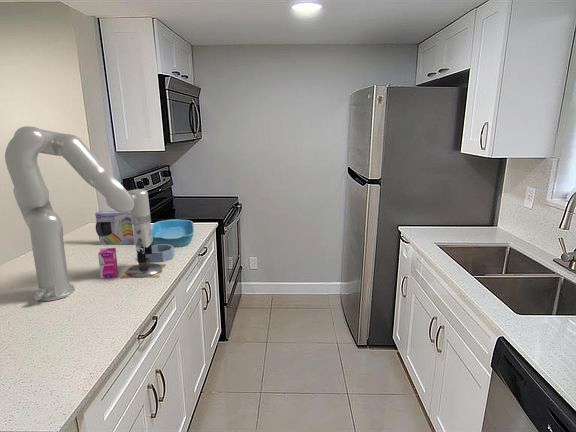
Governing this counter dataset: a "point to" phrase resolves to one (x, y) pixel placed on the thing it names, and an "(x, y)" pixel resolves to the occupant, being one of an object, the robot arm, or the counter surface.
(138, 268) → the lid
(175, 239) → the casserole dish
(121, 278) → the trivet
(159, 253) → the bowl
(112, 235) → the cake pan box
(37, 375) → the counter surface
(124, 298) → the counter surface
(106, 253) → the supplement box
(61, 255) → the robot arm
